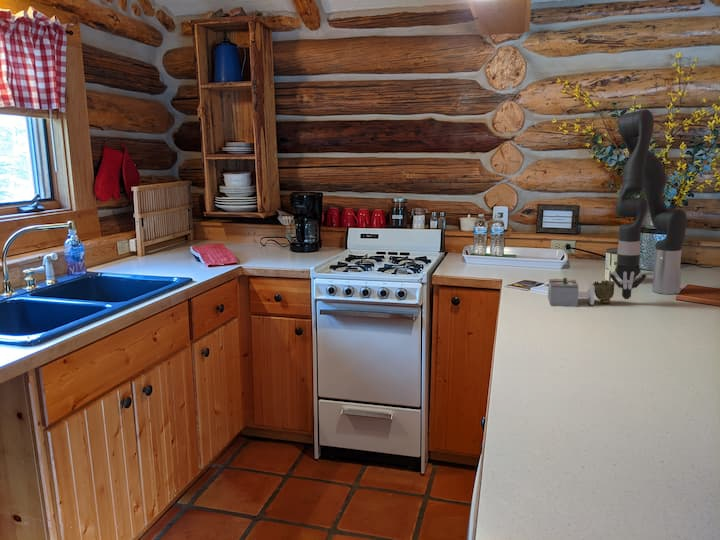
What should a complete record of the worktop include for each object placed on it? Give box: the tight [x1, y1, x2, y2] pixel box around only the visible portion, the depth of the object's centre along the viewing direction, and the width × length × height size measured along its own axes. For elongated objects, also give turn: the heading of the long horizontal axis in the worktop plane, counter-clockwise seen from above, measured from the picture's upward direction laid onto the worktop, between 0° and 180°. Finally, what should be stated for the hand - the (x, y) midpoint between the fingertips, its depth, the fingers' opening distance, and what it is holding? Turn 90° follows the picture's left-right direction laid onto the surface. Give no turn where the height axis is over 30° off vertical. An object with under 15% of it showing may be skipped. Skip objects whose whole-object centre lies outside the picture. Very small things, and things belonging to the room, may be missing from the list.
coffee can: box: [603, 247, 622, 285], centre depth 251 cm, size 10×10×14 cm
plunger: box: [565, 277, 595, 306], centre depth 220 cm, size 10×8×9 cm
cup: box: [592, 280, 615, 305], centre depth 217 cm, size 8×7×8 cm
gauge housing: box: [547, 278, 580, 307], centre depth 221 cm, size 10×12×8 cm
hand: (626, 298), depth 216 cm, fingers closed
